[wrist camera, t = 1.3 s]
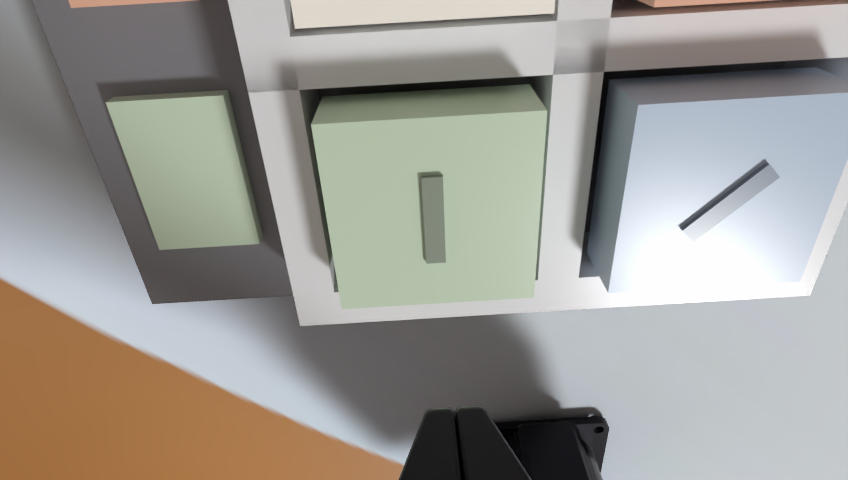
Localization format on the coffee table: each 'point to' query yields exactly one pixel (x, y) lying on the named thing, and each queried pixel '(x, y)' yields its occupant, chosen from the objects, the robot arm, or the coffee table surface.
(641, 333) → the coffee table surface
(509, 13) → the cream key
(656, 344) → the coffee table surface
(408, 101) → the sage key
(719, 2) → the peach flat square block
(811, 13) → the keypad
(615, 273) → the slate key
